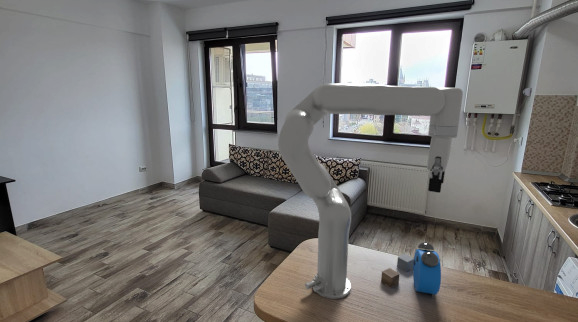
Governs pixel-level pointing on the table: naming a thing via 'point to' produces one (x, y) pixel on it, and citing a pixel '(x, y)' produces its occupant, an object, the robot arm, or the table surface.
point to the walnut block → (390, 277)
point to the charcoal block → (405, 262)
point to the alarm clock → (426, 269)
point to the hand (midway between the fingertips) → (435, 186)
